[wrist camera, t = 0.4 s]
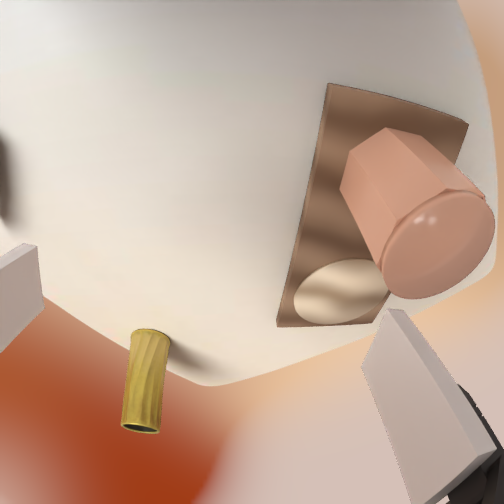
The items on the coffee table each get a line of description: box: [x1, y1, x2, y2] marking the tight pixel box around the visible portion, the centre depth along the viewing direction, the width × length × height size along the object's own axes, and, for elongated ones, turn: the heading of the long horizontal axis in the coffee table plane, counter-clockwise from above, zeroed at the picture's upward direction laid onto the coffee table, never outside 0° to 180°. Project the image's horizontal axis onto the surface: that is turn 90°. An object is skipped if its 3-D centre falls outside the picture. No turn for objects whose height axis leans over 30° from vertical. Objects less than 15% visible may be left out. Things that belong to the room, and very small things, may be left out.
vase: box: [121, 329, 170, 434], centre depth 37 cm, size 6×6×14 cm
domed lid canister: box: [339, 127, 495, 299], centre depth 21 cm, size 9×9×10 cm
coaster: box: [294, 258, 388, 324], centre depth 35 cm, size 12×12×1 cm
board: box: [276, 83, 469, 327], centre depth 30 cm, size 30×14×1 cm, turn 175°
